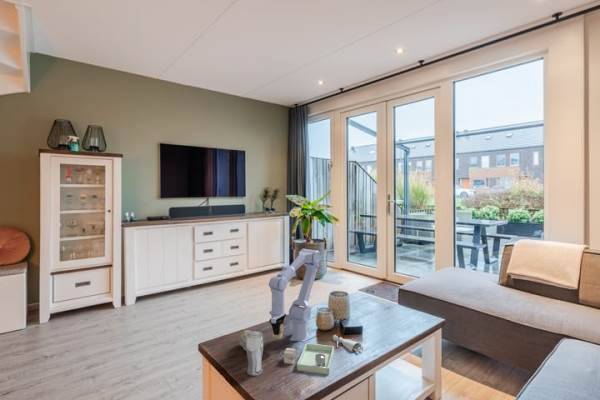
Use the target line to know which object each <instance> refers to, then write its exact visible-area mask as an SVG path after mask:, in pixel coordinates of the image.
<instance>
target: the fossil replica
mask: <svg viewBox="0 0 600 400" xmlns="http://www.w3.org/2000/svg"><path fill="white" fill-rule="evenodd" d="M250 332H254V331H252V330H249V329H245V330H244V331H243V332H242V333H241V334H240V336H239V345H240V347H242V348H243V350H244V351H245V352H246V338H247V334H248V333H250Z"/></svg>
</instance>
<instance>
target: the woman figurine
mask: <svg viewBox="0 0 600 400" xmlns="http://www.w3.org/2000/svg"><path fill="white" fill-rule="evenodd" d="M332 340H333V341H334V342H336V347H337V348H338V347H339V344H340V343H341V344H342V345H343V346H344V347H345V348H346V349H347V350H348V351H349V352H351V353H353V351H355V352H360V351H363V350H364V346H363V345H362V344H361V343H360V342H359V341H355V338H351V339H350V338H349V339H348V338H343V336H340V337H338V336H337V335H336V334H334V335H333V336H332Z"/></svg>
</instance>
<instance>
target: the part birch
mask: <svg viewBox="0 0 600 400" xmlns="http://www.w3.org/2000/svg"><path fill="white" fill-rule="evenodd" d="M296 353H297V352H296V348H290V347H287V348H285V350H284V352H283V362H284V363H283V364H289V365H290V364H291V365H294V363H295V362H296V360H297V359H296V358H297V356H296V355H297V354H296Z"/></svg>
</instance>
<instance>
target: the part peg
mask: <svg viewBox="0 0 600 400" xmlns="http://www.w3.org/2000/svg"><path fill="white" fill-rule="evenodd" d="M315 366H321V367H325V355H324V354H317V355H316V356H315Z"/></svg>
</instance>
